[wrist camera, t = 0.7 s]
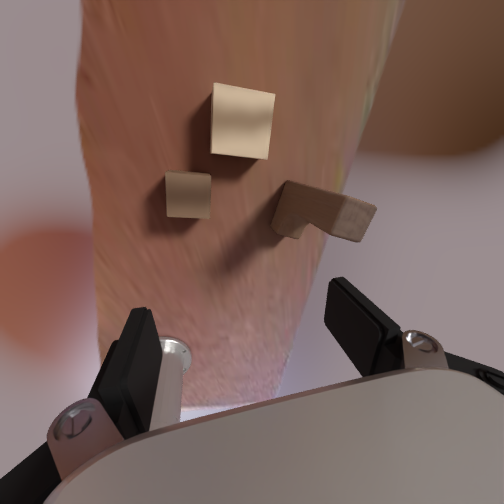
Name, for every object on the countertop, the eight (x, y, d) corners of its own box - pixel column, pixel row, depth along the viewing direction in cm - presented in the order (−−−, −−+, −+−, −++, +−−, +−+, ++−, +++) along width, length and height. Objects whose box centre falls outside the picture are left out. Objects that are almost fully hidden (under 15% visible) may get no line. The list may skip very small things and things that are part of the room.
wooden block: (289, 232, 43) (344, 277, 27) (269, 226, 42) (313, 271, 26) (307, 186, 41) (379, 207, 24) (285, 179, 39) (347, 195, 23)
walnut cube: (208, 210, 38) (209, 218, 33) (171, 208, 37) (166, 216, 32) (209, 173, 36) (211, 176, 31) (170, 169, 35) (165, 172, 29)
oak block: (258, 158, 37) (267, 159, 32) (209, 153, 35) (211, 152, 30) (264, 102, 34) (275, 94, 29) (211, 92, 32) (213, 82, 28)
